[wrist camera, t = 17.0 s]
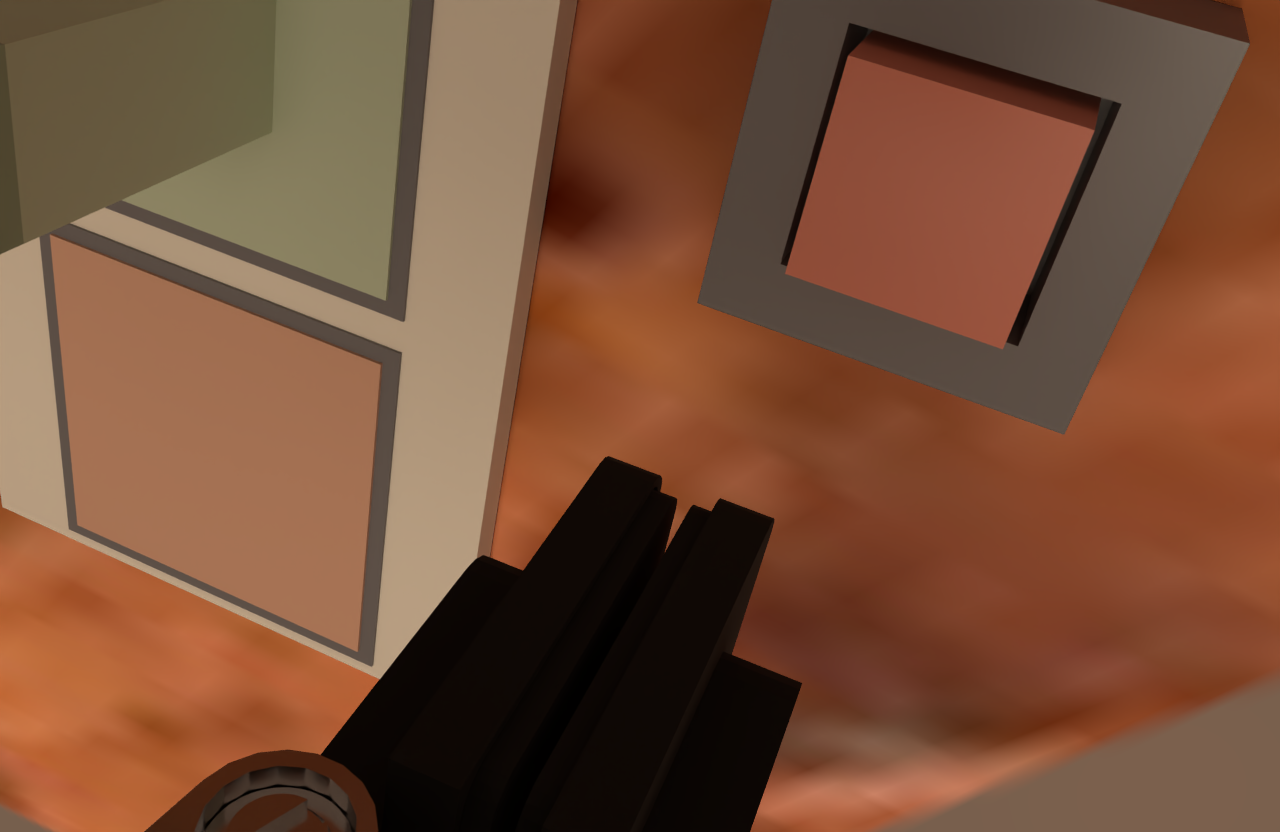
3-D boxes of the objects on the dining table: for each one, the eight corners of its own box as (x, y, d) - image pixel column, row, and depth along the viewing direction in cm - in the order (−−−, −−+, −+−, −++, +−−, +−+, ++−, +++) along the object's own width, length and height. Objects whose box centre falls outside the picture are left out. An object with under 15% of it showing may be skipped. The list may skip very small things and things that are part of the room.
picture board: (-82, -356, 29) (-125, -359, 28) (603, -168, 25) (580, -163, 24) (24, 492, 43) (-3, 509, 42) (468, 692, 39) (450, 716, 38)
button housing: (832, -105, 24) (793, -85, 21) (1242, 9, 22) (1250, 43, 20) (738, 253, 28) (697, 303, 26) (1074, 369, 27) (1063, 434, 24)
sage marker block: (134, -79, 29) (-276, -1, 20) (277, -30, 28) (-92, 70, 20) (140, 83, 31) (-229, 210, 23) (272, 132, 30) (-61, 281, 22)
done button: (881, 21, 24) (847, 55, 21) (1103, 87, 23) (1094, 130, 20) (821, 222, 26) (785, 274, 24) (1019, 289, 25) (1002, 349, 23)
